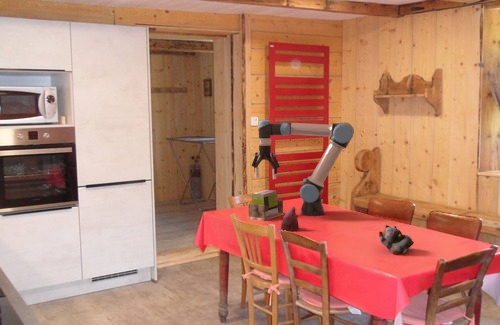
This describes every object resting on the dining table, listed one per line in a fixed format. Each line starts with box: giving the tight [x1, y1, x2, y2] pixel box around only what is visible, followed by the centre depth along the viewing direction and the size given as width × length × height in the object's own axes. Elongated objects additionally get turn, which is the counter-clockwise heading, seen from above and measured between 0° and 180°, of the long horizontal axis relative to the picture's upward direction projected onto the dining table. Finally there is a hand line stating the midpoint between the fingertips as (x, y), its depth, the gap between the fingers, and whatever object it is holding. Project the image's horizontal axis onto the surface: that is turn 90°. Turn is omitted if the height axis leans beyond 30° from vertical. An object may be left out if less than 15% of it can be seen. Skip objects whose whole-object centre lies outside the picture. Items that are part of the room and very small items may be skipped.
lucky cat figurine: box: [378, 224, 415, 256], centre depth 266 cm, size 15×12×14 cm
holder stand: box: [248, 199, 284, 222], centre depth 349 cm, size 12×23×10 cm, turn 143°
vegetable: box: [280, 206, 300, 232], centre depth 315 cm, size 10×10×15 cm
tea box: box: [251, 189, 279, 216], centre depth 349 cm, size 15×10×15 cm, turn 142°
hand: (265, 178), depth 347 cm, fingers open, 13 cm apart
